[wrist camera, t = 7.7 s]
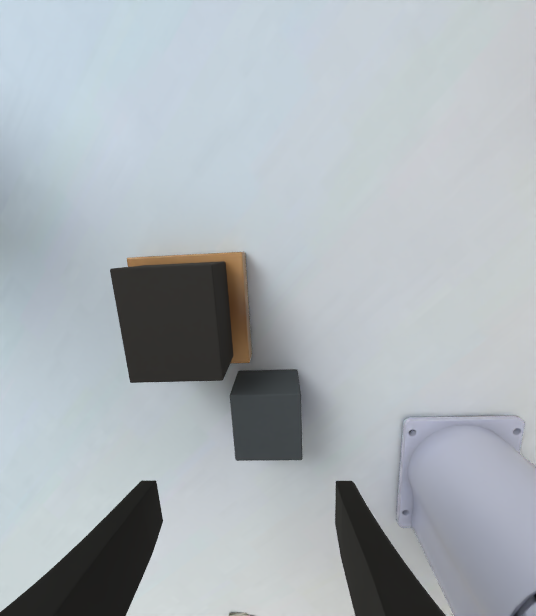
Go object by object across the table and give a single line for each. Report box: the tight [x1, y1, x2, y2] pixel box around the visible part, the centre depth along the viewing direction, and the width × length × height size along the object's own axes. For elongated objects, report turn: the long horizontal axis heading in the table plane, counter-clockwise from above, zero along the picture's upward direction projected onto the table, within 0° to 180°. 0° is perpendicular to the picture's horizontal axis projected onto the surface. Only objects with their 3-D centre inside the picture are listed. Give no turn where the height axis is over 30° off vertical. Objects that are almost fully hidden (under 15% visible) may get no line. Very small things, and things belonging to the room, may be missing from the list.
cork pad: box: [127, 252, 252, 363], centre depth 17 cm, size 7×7×2 cm
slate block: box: [230, 370, 302, 461], centre depth 17 cm, size 5×4×3 cm
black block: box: [110, 261, 234, 383], centre depth 14 cm, size 6×5×3 cm
